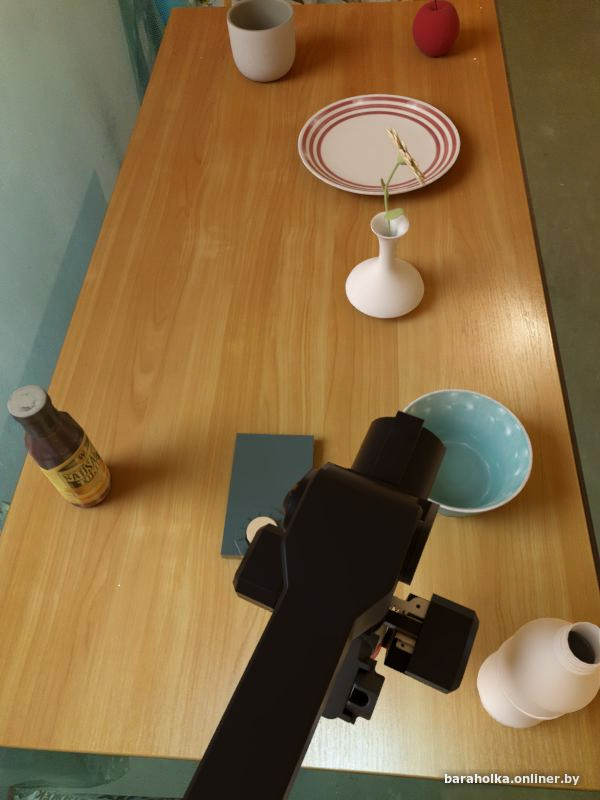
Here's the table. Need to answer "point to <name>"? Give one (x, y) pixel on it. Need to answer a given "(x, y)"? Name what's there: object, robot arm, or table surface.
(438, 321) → the table surface
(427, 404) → the bowl
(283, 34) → the planter
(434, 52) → the apple
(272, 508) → the teal rectangular base
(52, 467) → the sauce bottle
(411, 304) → the flower in vase
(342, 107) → the dinner plate
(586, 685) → the water bottle
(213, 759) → the robot arm
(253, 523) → the beige round cap
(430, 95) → the table surface
